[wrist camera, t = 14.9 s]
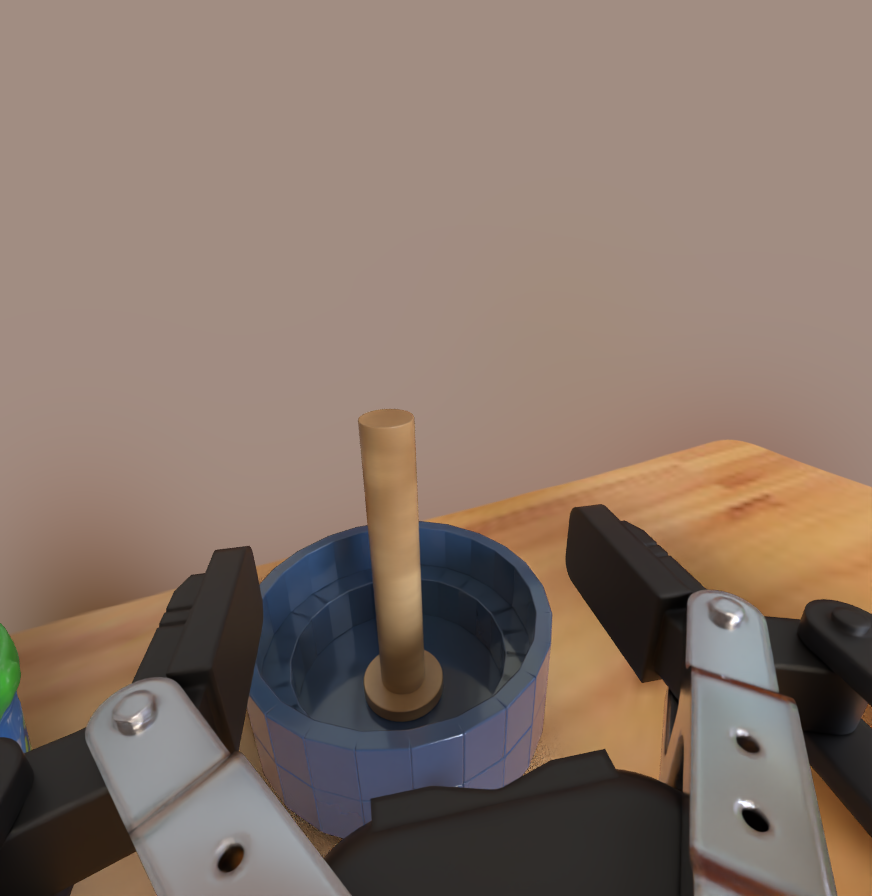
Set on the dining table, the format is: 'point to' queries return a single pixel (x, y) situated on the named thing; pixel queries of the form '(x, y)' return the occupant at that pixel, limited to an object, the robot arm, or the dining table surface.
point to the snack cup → (11, 693)
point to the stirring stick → (396, 570)
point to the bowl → (356, 644)
